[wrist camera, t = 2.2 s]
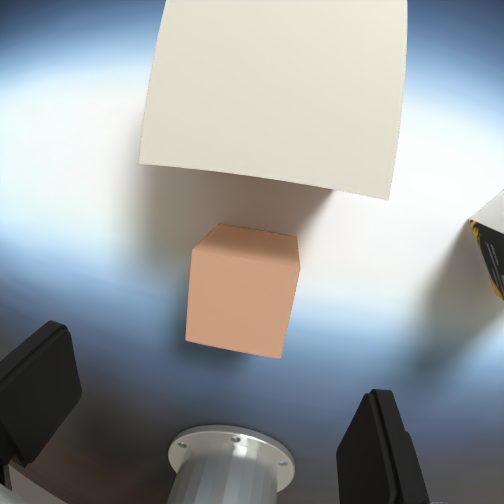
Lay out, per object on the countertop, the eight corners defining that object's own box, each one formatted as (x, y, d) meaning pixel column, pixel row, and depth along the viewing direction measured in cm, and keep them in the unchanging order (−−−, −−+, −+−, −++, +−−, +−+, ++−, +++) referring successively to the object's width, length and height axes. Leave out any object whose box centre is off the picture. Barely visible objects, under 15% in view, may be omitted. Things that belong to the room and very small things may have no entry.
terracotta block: (282, 307, 22) (280, 358, 16) (210, 294, 22) (185, 340, 16) (296, 236, 20) (300, 268, 15) (218, 223, 21) (191, 250, 15)
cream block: (360, 188, 15) (388, 200, 10) (177, 161, 15) (138, 163, 11) (379, 21, 12) (406, -17, 8) (204, 0, 13) (178, -42, 8)
